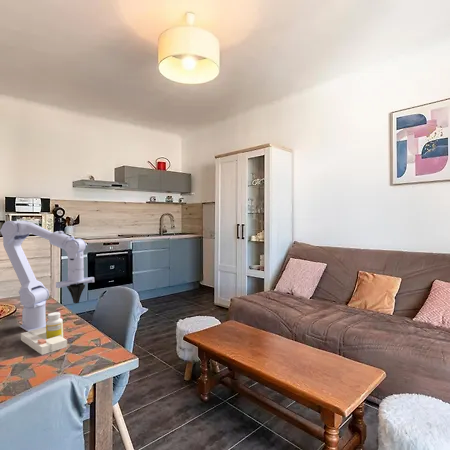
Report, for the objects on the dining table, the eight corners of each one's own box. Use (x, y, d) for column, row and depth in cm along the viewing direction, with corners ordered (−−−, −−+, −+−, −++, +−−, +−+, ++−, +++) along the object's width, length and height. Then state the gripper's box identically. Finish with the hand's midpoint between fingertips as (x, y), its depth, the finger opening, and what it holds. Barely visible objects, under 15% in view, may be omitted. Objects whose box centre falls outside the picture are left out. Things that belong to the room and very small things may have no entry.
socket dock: (20, 340, 113) (20, 331, 113) (44, 333, 120) (44, 325, 119) (41, 354, 101) (41, 344, 101) (67, 346, 108) (67, 337, 107)
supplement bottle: (51, 337, 116) (50, 311, 116) (66, 337, 116) (65, 311, 116) (43, 343, 110) (42, 316, 110) (58, 343, 110) (57, 315, 110)
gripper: (61, 272, 117) (61, 308, 117) (98, 267, 128) (98, 300, 128) (53, 270, 121) (53, 305, 122) (89, 266, 132) (89, 297, 133)
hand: (76, 302), depth 125 cm, fingers closed
